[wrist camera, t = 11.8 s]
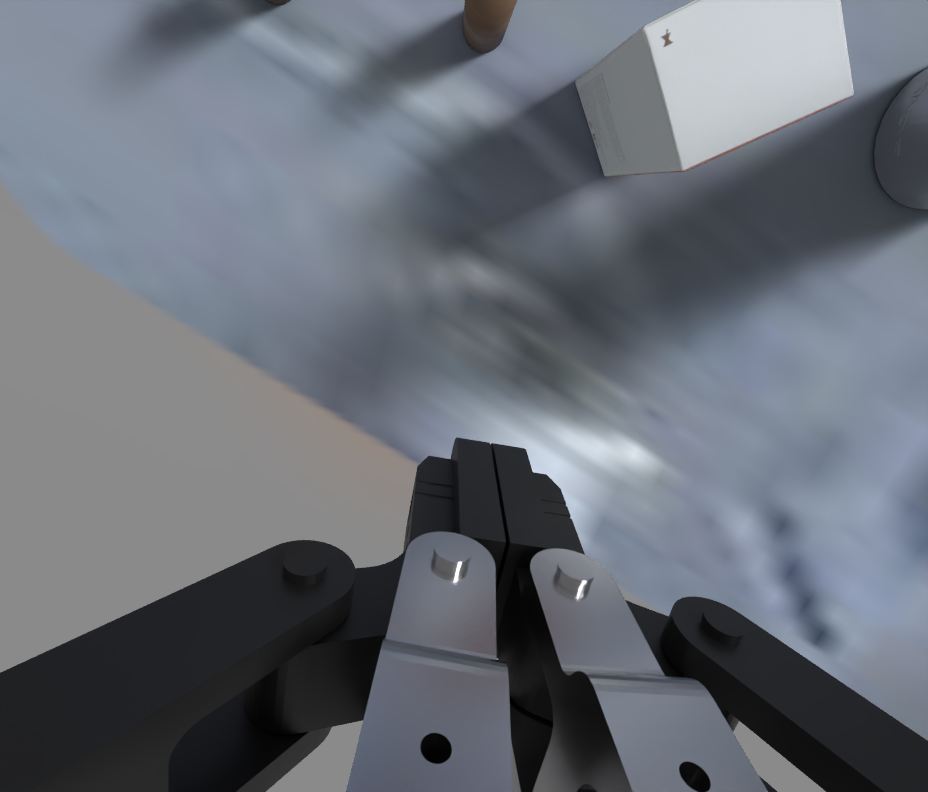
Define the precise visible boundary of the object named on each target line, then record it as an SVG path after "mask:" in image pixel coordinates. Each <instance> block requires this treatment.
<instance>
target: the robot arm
mask: <svg viewBox="0 0 928 792" xmlns="http://www.w3.org/2000/svg"><path fill="white" fill-rule="evenodd" d="M874 159H875V169H876V173H877V176H878V179H879V182H880V184H881V185H882V187H883V188H884V190H885V192H886V193H887V194H888V195H889V196H890V197H891V198H892V199H894V200H895V201H896V202H898V203H900V204H902V205H904V206H906V207H911V208H916V209H926V210H928V68H926V69H925V70H924V71H922V72H921V73H919V74H918V75H917V76H915V77H914V78H913V79H912V80H911V81H910V82H909V83H908V84H907V85H906V86H905V87H904V88H903V89H902V90H901V91H900V92H899V93H898V95H897V96H896V97H895V99H894V100H893V101H892V103H891V104H890V106H889V108H888V109H887V111H886V113H885V115H884V117H883V119H882V121H881V124H880V127H879V130H878V133H877V137H876V143H875V150H874ZM497 658H498V659H499V660H497ZM361 720H363V724H362V728H361V732H360V736H359V741H358V744H357V749H356V753H355V757H354V761H353V765H352V769H351V773H350V778H349V781H348V785H347V790H346V792H777V791H776V790H775V789H774V788H772V787H771V786H770V785H769V784H768V783H767V782H766V781H764V780H763V779H762V778H761V777H760V776H759V775H758V774H757V772H756V770H755V769H754V767H753V765H752V764H751V762H750V760H749V759H748V757H747V756H746V753H745V752H744V750H743V748H742V747H741V745H740V743H739V742H738V740H737V738H736V736H735V735H734V733H733V731H734V729H735V727H736V725H737V724H738V722H739V721H740V722H742V723H743V724H744V725H745V726H747V727H748V728H749V729H750V730H751V731H753V732H754V733H755V734H757V735H758V736H759V737H760V738H761V739H762V740H764V741H765V742H766V743H767V744H769V745H770V746H771V747H772V748H774V749H775V750H776V751H777V752H779V753H780V754H781V755H782V756H783V757H785V758H786V759H787V760H788V761H789V762H791V763H792V764H793V765H794V766H796V767H797V768H798V769H799V770H800V771H802V772H803V773H804V774H805V775H807V776H808V777H809V778H810V779H811V780H813V781H814V782H815V783H816V784H818V785H819V786H820V787H821V788H823V789H824V790H825V791H826V792H928V741H927V740H926V739H924V738H923V737H921V736H920V735H918V734H917V733H915V732H914V731H912V730H911V729H909V728H908V727H906V726H905V725H903V724H902V723H901V722H899V721H898V720H896V719H895V718H893V717H892V716H890V715H889V714H887V713H886V712H884V711H883V710H881V709H880V708H878V707H877V706H875V705H874V704H872V703H871V702H870V701H868V700H867V699H865V698H864V697H862V696H861V695H859V694H858V693H856V692H855V691H853V690H852V689H850V688H849V687H847V686H846V685H844V684H843V683H842V682H840V681H839V680H837V679H836V678H834V677H833V676H831V675H830V674H828V673H827V672H825V671H824V670H822V669H821V668H819V667H818V666H816V665H815V664H814V663H812V662H811V661H809V660H808V659H806V658H805V657H803V656H802V655H800V654H799V653H797V652H796V651H794V650H793V649H791V648H790V647H788V646H787V645H786V644H784V643H783V642H781V641H780V640H778V639H777V638H775V637H774V636H772V635H771V634H769V633H768V632H766V631H765V630H763V629H762V628H760V627H759V626H758V625H756V624H755V623H753V622H752V621H750V620H749V619H747V618H746V617H744V616H743V615H741V614H740V613H738V612H737V611H735V610H733V609H732V608H730V607H728V606H726V605H724V604H721V603H719V602H717V601H713V600H710V599H707V598H702V597H685V598H682V599H679V600H678V601H677V602H675V604H674V606H673V608H672V610H671V612H670V615H669V617H668V616H666V615H663V614H660V613H658V612H655V611H652V610H649V609H647V608H644V607H641V606H638V605H636V604H634V603H631V602H629V601H626V600H625V599H624V597H623V595H622V593H621V591H620V589H619V587H618V585H617V583H616V581H615V580H614V578H613V577H612V575H611V574H610V573H609V572H608V570H607V569H605V568H604V567H603V566H602V565H601V564H599V563H598V562H597V561H595V560H593V559H592V558H590V557H588V556H586V555H585V554H584V551H583V549H582V546H581V543H580V540H579V538H578V535H577V532H576V530H575V527H574V524H573V521H572V519H570V513H569V511H568V508H567V506H566V502H565V500H564V497H563V494H562V492H561V489H560V488H559V487H558V486H557V485H556V484H555V483H554V482H553V481H552V480H551V479H550V478H549V477H548V476H547V475H546V474H539V473H533V472H532V469H531V465H530V462H529V459H528V455H527V452H526V449H524V448H518V447H512V446H506V445H500V444H493V443H492V444H491V445H490V443H487V442H481V441H475V440H469V439H462V438H456V439H455V442H454V446H453V450H452V455H451V459H445V458H439V457H433V456H428V457H427V458H426V459H425V460H424V461H423V462H422V463H421V464H420V465H419V466H418V467H417V473H416V478H415V483H414V489H413V495H412V500H411V506H410V510H409V516H408V521H407V527H406V535H405V542H404V551H403V554H401V555H400V556H399V557H398V558H396V559H394V560H393V561H391V562H388V563H386V564H383V565H379V566H374V567H367V568H356V569H355V567H354V564H353V562H352V560H351V559H350V558H349V556H348V555H347V554H345V553H344V552H343V551H342V550H340V549H339V548H337V547H334V546H332V545H330V544H327V543H324V542H319V541H311V540H298V541H291V542H286V543H282V544H279V545H277V546H274V547H272V548H270V549H267V550H266V551H263V552H261V553H259V554H257V555H254V556H252V557H250V558H248V559H246V560H244V561H241V562H239V563H237V564H235V565H233V566H231V567H228V568H226V569H224V570H222V571H220V572H218V573H216V574H213V575H211V576H209V577H207V578H205V579H202V580H200V581H198V582H196V583H194V584H192V585H190V586H187V587H185V588H183V589H181V590H179V591H177V592H175V593H172V594H170V595H168V596H166V597H164V598H161V599H159V600H157V601H155V602H153V603H151V604H148V605H146V606H144V607H142V608H140V609H138V610H136V611H133V612H131V613H129V614H127V615H125V616H122V617H120V618H118V619H116V620H114V621H112V622H109V623H107V624H105V625H103V626H101V627H99V628H97V629H94V630H92V631H90V632H88V633H86V634H83V635H81V636H79V637H77V638H75V639H73V640H71V641H68V642H66V643H64V644H62V645H60V646H58V647H55V648H53V649H51V650H49V651H47V652H45V653H43V654H40V655H38V656H36V657H34V658H31V659H29V660H27V661H25V662H23V663H21V664H18V665H16V666H14V667H12V668H10V669H8V670H6V671H3V672H1V673H0V792H266V791H267V790H268V789H269V788H270V787H272V785H274V784H275V783H276V782H277V781H278V780H280V779H281V778H282V777H283V776H284V775H285V774H286V773H288V772H289V771H290V770H291V769H292V768H293V767H295V766H296V765H297V764H298V763H299V762H301V761H302V760H303V759H304V758H305V757H306V756H307V755H308V754H310V753H311V752H312V751H313V750H314V749H315V748H317V747H318V746H319V745H320V744H321V743H322V742H323V741H324V740H325V738H326V737H327V735H328V734H329V732H330V730H331V728H332V727H333V726H337V725H342V724H347V723H352V722H357V721H361Z"/></svg>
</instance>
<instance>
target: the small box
mask: <svg viewBox="0 0 928 792" xmlns="http://www.w3.org/2000/svg"><path fill="white" fill-rule="evenodd" d="M575 84H576V87H577V90H578V93H579V97H580V100H581V103H582V106H583V109H584V112H585V115H586V119H587V122H588V125H589V128H590V131H591V134H592V137H593V140H594V144H595V147H596V150H597V154H598V157H599V160H600V163H601V167H602V170H603V173H604V176H606V177H607V176H621V175H638V174H650V173H666V172H685V171H687V170H690V169H692V168H694V167H697V166H699V165H701V164H704V163H706V162H708V161H710V160H713V159H715V158H717V157H719V156H722V155H724V154H726V153H728V152H731V151H733V150H735V149H737V148H740V147H742V146H744V145H746V144H748V143H751V142H753V141H755V140H757V139H759V138H762V137H764V136H766V135H768V134H771V133H773V132H775V131H778V130H780V129H782V128H784V127H786V126H788V125H791V124H793V123H795V122H797V121H799V120H802V119H804V118H806V117H808V116H810V115H813V114H815V113H817V112H820V111H822V110H824V109H826V108H828V107H831V106H833V105H835V104H837V103H839V102H842V101H844V100H846V99H848V98H850V97H852V96H853V93H854V92H853V84H852V77H851V70H850V64H849V57H848V50H847V43H846V36H845V29H844V22H843V15H842V7H841V0H695V1H693V2H691V3H689V4H687V5H685V6H683V7H681V8H679V9H677V10H675V11H673V12H671V13H669V14H667V15H665V16H663V17H661V18H659V19H657V20H655V21H653V22H651V23H649V24H647V25H645V26H643V27H642V28H641V29H639V30H638V31H637V32H636V33H634V34H633V35H632V36H631V37H629V38H628V39H627V40H626V41H624V42H623V43H622V44H621V45H619V46H618V47H617V48H616V49H614V50H613V51H612V52H611V53H609V54H608V55H607V56H606V57H605V58H604V59H602V60H601V61H600V62H599V63H598V64H596V65H595V66H594V67H593V68H591V69H590V70H589V71H587V72H586V73H584V74H583V75H582V76H580V77H579V78H578V79H576V80H575Z"/></svg>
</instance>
